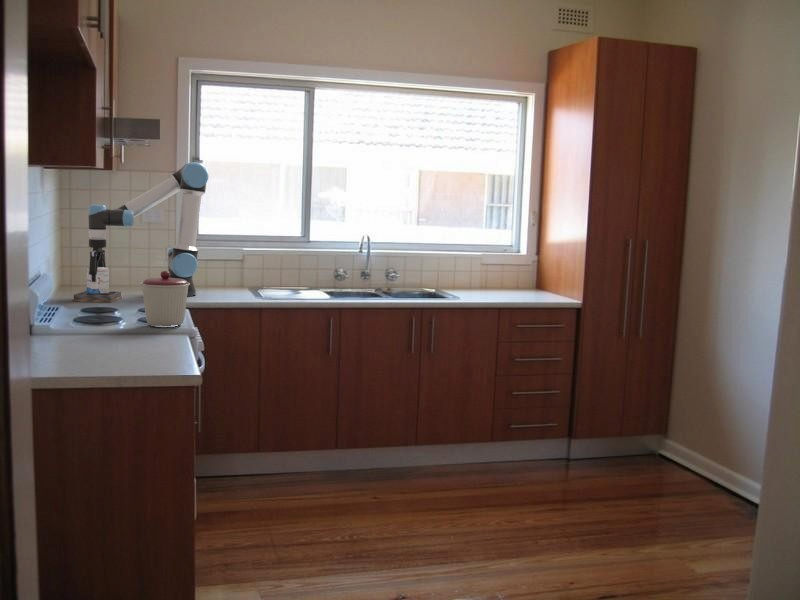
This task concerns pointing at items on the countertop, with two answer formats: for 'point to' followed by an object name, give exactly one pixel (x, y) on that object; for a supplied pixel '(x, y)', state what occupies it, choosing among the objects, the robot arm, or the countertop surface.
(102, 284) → the ink box
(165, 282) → the canister
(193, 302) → the countertop surface
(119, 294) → the brown shallow square tray
